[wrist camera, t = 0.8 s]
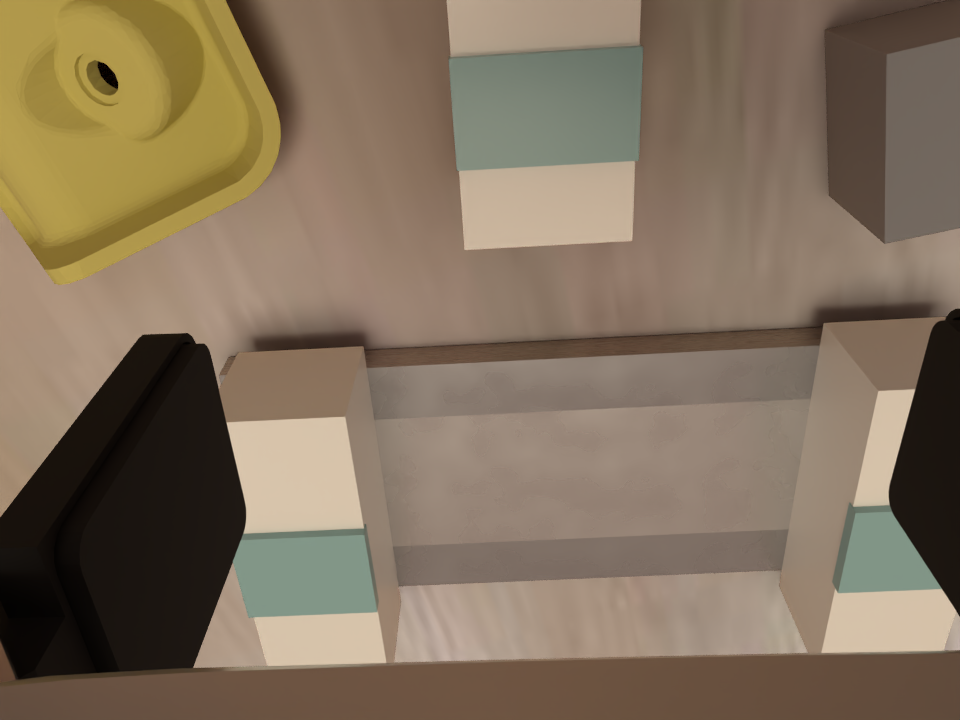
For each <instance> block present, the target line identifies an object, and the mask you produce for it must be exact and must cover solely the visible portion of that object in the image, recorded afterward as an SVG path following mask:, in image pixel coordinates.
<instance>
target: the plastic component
mask: <svg viewBox="0 0 960 720" xmlns="http://www.w3.org/2000/svg"><path fill="white" fill-rule="evenodd" d="M98 61H99V62H102V63H105V64H106V65H107V66H108V67H109V68H110V69H111V70H112V71H113V72H114V73H115V75H116V78H117V81H118V89H116V88H114V87H112V86H110V85H108V84H107V83H106V82H105V80H104V79H103V78H102V77H101V75H100V72H99V69H98V67H97V65H98ZM280 140H281V131H280V120H279V116H278V112H277V108H276V105H275V103H274V101H273V98H272V96H271V94H270V92H269V90H268V88H267V86H266V84H265V82H264V80H263V78H262V76H261V73H260V71H259V69H258V67H257V65H256V63H255V61H254V59H253V57H252V55H251V53H250V50H249V48H248V46H247V44H246V42H245V40H244V38H243V36H242V34H241V32H240V30H239V28H238V25H237V23H236V21H235V19H234V17H233V15H232V13H231V11H230V9H229V7H228V5H227V2H226V0H0V207H1V208H2V210H3V211H4V213H5V214H6V215H7V217H8V218H9V220H10V221H11V222H12V224H13V225H14V227H15V228H16V229H17V231H18V232H19V234H20V235H21V236H22V238H23V239H24V241H25V242H26V244H27V245H28V246H29V248H30V249H31V251H32V252H33V254H34V255H35V256H36V258H37V259H38V261H39V262H40V264H41V265H42V266H43V268H44V269H45V271H46V272H47V274H48V275H49V276H50V278H51V279H52V281H53V282H54V283H55V284H58V285H62V284H68V283H72V282H75V281H78V280H81V279H83V278H86V277H88V276H90V275H92V274H94V273H96V272H98V271H100V270H102V269H104V268H106V267H108V266H110V265H112V264H114V263H116V262H118V261H120V260H122V259H124V258H126V257H128V256H130V255H132V254H134V253H136V252H138V251H140V250H142V249H144V248H146V247H148V246H150V245H152V244H154V243H156V242H158V241H160V240H162V239H164V238H166V237H168V236H170V235H172V234H174V233H176V232H178V231H180V230H182V229H184V228H186V227H188V226H190V225H192V224H194V223H196V222H198V221H200V220H202V219H204V218H206V217H208V216H210V215H212V214H214V213H216V212H218V211H220V210H222V209H224V208H226V207H228V206H230V205H232V204H234V203H236V202H238V201H240V200H242V199H244V198H246V197H247V196H249V195H250V194H251V193H252V192H254V191H255V190H256V189H257V188H259V187H260V186H261V184H262V183H263V182H264V180H265V179H266V178H267V176H268V175H269V174H270V172H271V171H272V168H273V166H274V164H275V161H276V159H277V156H278V153H279V146H280Z"/></svg>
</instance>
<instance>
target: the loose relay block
mask: <svg viewBox="0 0 960 720" xmlns="http://www.w3.org/2000/svg"><path fill="white" fill-rule="evenodd" d="M825 64H826V104H827V144H828V183H829V196H830V197H831V198H832V199H834V200H835V201H836V202H837V203H838V204H839V205H840V206H842V207H843V208H844V209H845V210H846V211H847V212H849V213H850V214H851V215H852V216H853V217H854V218H855V219H857V220H858V221H859V222H860V223H861V224H862V225H864V226H865V227H866V228H867V229H868V230H869V231H870V232H872V233H873V234H874V235H875V236H876V237H877V238H879V239H880V240H881V241H882V242H883V243H884V244H886V243H891V242H895V241H900V240H905V239H910V238H915V237H919V236H924V235H929V234H934V233H938V232H943V231H948V230H953V229H958V228H960V0H947V1H942V2H938V3H934V4H930V5H926V6H922V7H918V8H913V9H909V10H905V11H901V12H897V13H893V14H888V15H884V16H880V17H876V18H872V19H868V20H864V21H859V22H855V23H851V24H847V25H843V26H839V27H835V28H830V29H826V30H825Z"/></svg>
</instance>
